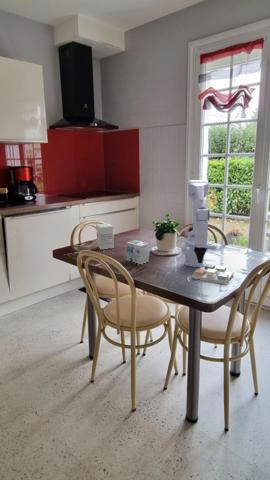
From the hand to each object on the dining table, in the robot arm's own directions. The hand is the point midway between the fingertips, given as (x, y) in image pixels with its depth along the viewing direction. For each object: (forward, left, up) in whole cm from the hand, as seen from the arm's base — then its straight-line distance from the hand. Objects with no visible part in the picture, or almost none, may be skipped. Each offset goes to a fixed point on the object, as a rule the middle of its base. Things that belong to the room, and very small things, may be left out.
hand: (200, 262), depth 154 cm
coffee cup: (-19, +46, -7) cm, 50 cm away
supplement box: (-68, +19, -7) cm, 71 cm away
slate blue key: (+11, 0, -6) cm, 12 cm away
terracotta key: (0, 0, -6) cm, 6 cm away
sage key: (+8, +6, -4) cm, 11 cm away
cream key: (+6, 0, -4) cm, 7 cm away
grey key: (+3, +6, -4) cm, 8 cm away
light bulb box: (-37, +6, -7) cm, 39 cm away
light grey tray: (+6, +3, -7) cm, 9 cm away
